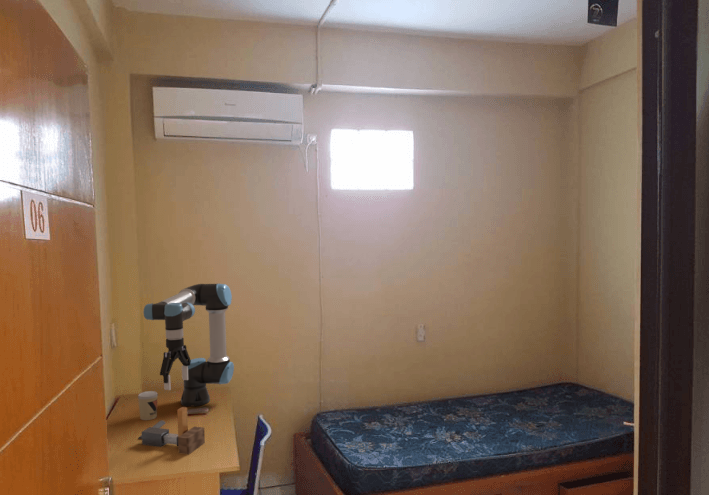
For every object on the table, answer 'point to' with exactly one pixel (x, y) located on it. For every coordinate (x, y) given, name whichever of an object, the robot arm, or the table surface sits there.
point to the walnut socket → (191, 440)
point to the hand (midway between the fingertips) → (176, 384)
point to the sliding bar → (182, 428)
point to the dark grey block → (153, 436)
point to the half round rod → (156, 426)
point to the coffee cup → (148, 405)
